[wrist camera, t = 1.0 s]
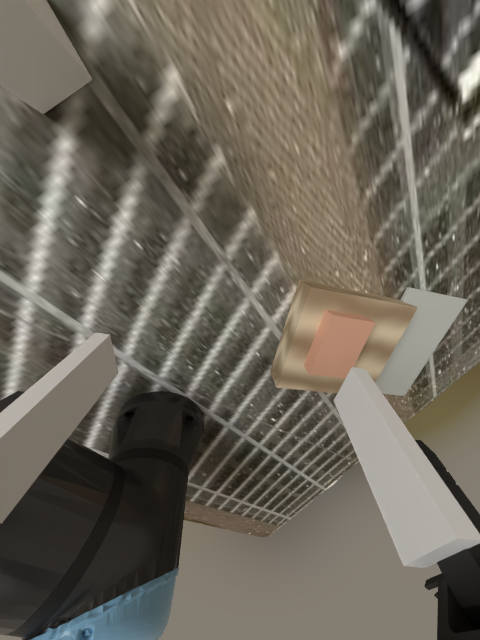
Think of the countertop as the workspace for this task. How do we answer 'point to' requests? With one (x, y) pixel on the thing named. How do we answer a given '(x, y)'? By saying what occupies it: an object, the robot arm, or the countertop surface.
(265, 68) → the countertop surface
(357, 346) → the pink block
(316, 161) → the countertop surface
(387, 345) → the board
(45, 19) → the milk
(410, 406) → the countertop surface
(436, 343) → the mat
